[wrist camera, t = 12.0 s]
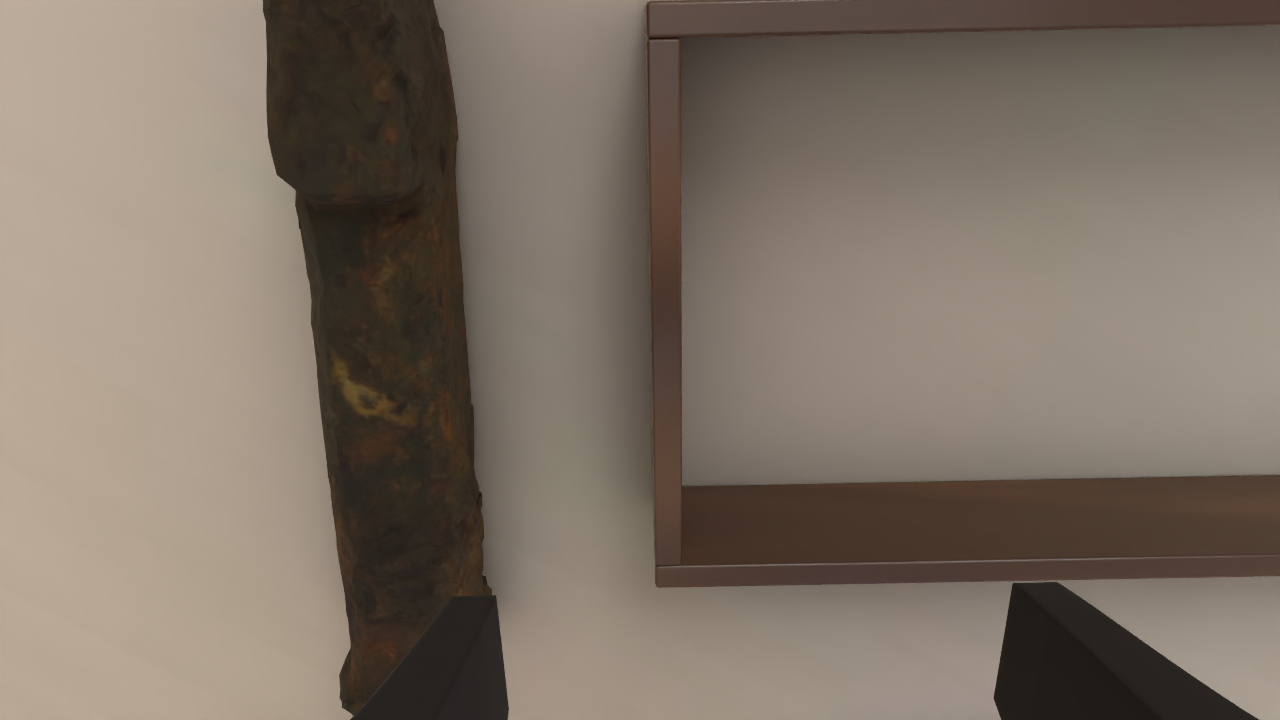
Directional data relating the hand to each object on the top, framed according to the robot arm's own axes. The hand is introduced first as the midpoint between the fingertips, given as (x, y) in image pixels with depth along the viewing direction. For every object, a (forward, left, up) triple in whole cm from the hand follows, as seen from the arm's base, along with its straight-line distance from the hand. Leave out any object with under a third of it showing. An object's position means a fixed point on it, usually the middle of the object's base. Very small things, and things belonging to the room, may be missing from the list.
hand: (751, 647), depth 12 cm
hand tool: (+2, +7, -10) cm, 13 cm away
